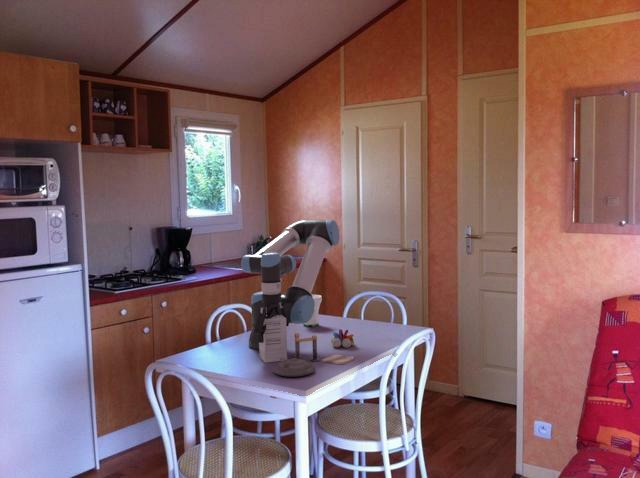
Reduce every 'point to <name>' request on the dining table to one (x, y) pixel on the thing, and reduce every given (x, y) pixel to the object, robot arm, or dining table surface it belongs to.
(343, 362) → the coaster
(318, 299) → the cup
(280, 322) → the supplement box
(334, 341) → the rainbow disc toy
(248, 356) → the dining table surface
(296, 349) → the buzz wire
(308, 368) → the flying saucer
